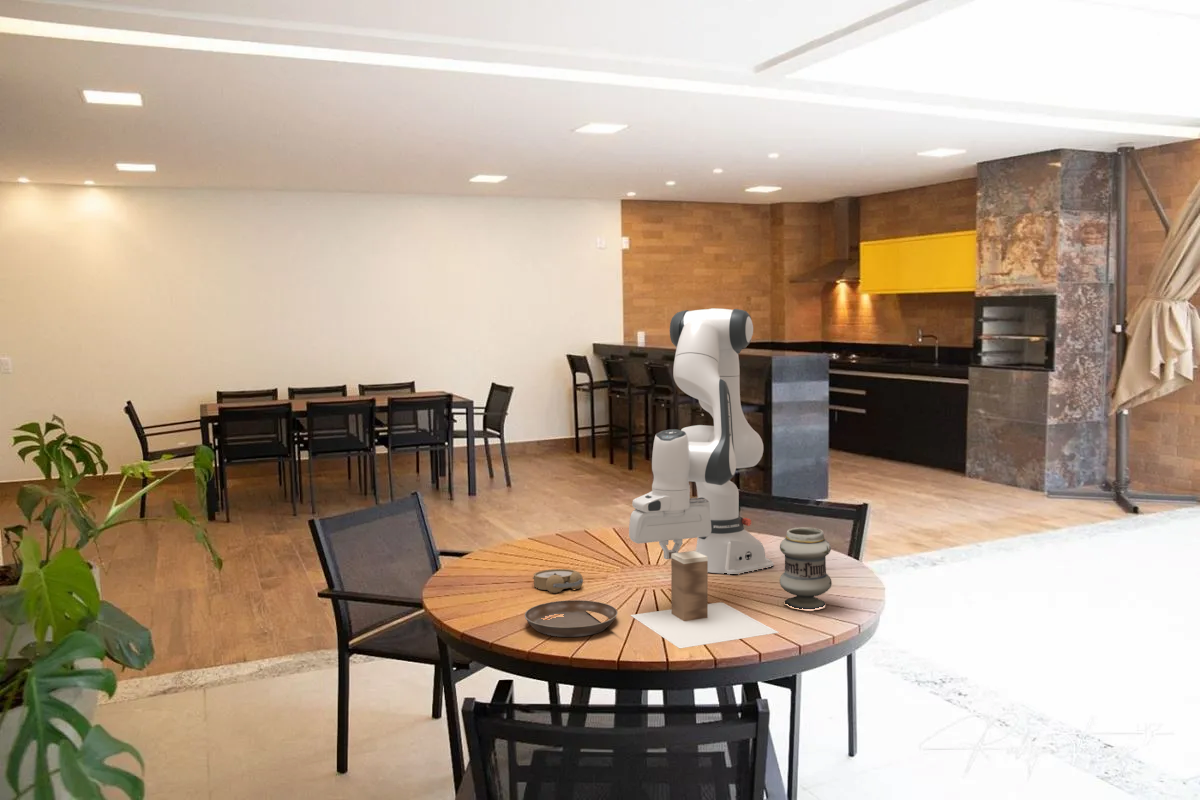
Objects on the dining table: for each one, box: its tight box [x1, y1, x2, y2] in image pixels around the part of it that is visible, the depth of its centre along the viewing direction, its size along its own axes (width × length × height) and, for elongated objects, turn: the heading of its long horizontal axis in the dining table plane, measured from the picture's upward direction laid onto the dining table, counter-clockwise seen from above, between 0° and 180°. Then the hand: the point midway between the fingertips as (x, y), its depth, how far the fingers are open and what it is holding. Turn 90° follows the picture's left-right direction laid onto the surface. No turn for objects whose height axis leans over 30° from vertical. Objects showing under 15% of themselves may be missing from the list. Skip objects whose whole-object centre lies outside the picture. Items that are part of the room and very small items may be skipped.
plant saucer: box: [524, 599, 619, 638], centre depth 206 cm, size 21×21×3 cm
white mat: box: [629, 601, 780, 650], centre depth 204 cm, size 24×24×1 cm
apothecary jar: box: [779, 527, 833, 609], centre depth 219 cm, size 12×12×18 cm
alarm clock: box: [532, 568, 584, 594], centre depth 236 cm, size 11×5×15 cm
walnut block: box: [670, 550, 709, 621], centre depth 209 cm, size 6×6×14 cm
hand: (670, 558), depth 217 cm, fingers closed
